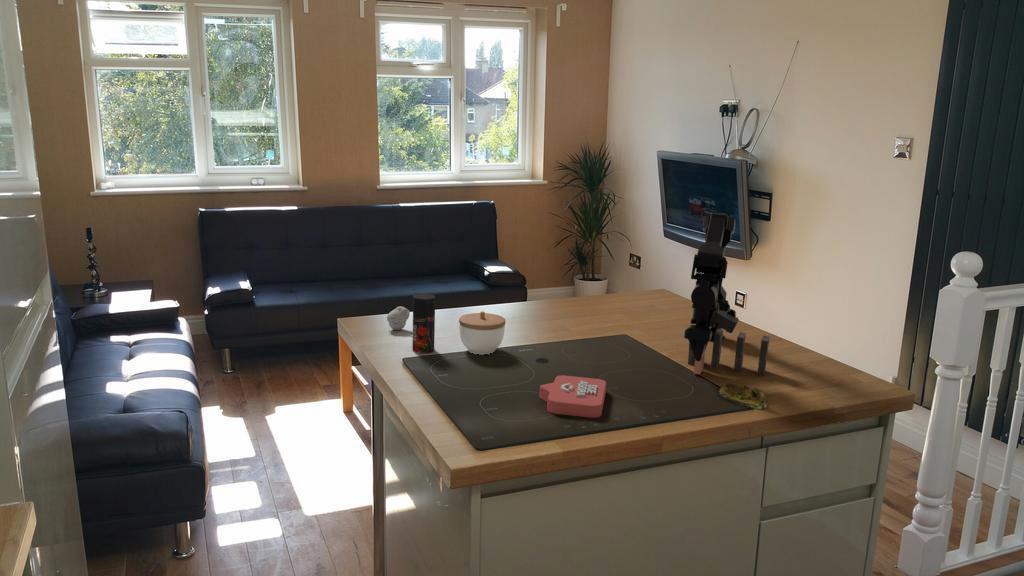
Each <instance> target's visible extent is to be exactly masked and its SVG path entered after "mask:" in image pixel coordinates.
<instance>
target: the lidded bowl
mask: <svg viewBox="0 0 1024 576" xmlns="http://www.w3.org/2000/svg"><path fill="white" fill-rule="evenodd" d="M506 322H507V321H506V319H505V318H504V317H503V316H501V315H499V314H494V313H487V312H485V311H480V312H472V313H467V314H463V315H461V316H460V317H459V318H458V323H459V337H460V340H461V343H462V344H463V346H464V347H465V348H466V349H467V350H468V353H471V354H472V353H473V355H477V354H479V355H478V356H485V355H484V354H488V355H491V354H490V353H492V354H493V352H494V353H495V351H496V350H497V349H498V348H499V347H500V346H501V344H502V342H503V339H504V336H505V328H506Z"/></svg>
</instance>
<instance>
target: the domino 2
mask: <svg viewBox="0 0 1024 576" xmlns="http://www.w3.org/2000/svg"><path fill="white" fill-rule="evenodd" d="M705 347H706V344H705ZM705 347H704V350H703V354H702V357H701V360H700V361H696V360H695V364H694V367H693V369H694V370H693V374H695V375H701V373H702V372H703V370H704V367H705V365H704V363H705V355H706V350H705ZM706 348H707V347H706Z"/></svg>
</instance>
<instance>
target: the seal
mask: <svg viewBox="0 0 1024 576" xmlns="http://www.w3.org/2000/svg"><path fill="white" fill-rule="evenodd" d="M718 392H720V393H719V395H720V394H721V395H722V396H723V397H725V398H726V399H728V400H730V401H729V402H731V401H733V402H735V403H738V404H741V405H745V406H749V407H751V409H754V410H755V409H756V410H765V409H766V408H767V407H768V401H767V399H766V398H765V391H763V390H761V389H759V388H758V387H755V386H754V387H751V388H750V387H749V386H747V385H743V386H741V385H737V384H734V383H729V382H728V383H727V382H726V383H723V384H722V385H721V387H720V388H719V391H718ZM721 395H720V396H721ZM722 396H721V397H722ZM723 397H722V398H723ZM725 398H724V399H725ZM726 399H725V400H726ZM728 400H727V401H728ZM733 402H732V403H733ZM735 403H734V404H735ZM738 404H737V405H738ZM741 405H740V406H741ZM749 407H748V408H749Z"/></svg>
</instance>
